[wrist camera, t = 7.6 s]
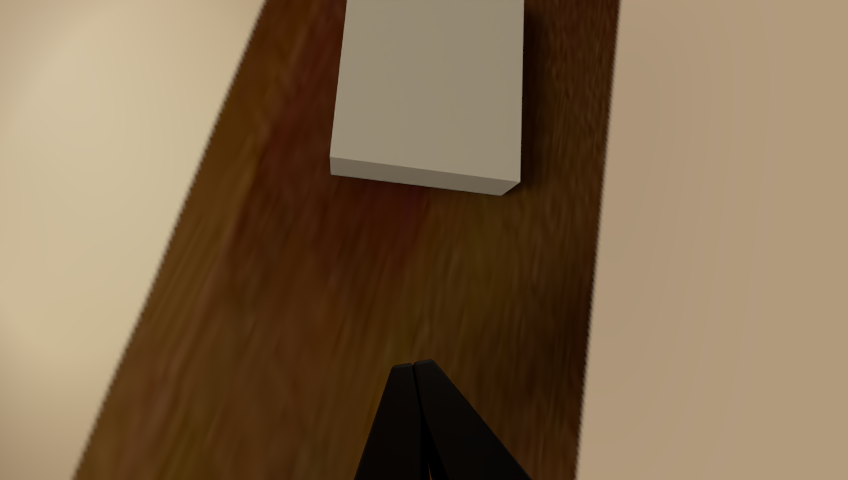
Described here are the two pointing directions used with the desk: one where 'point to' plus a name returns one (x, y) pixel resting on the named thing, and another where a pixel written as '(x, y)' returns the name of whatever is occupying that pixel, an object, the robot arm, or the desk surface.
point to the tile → (431, 94)
